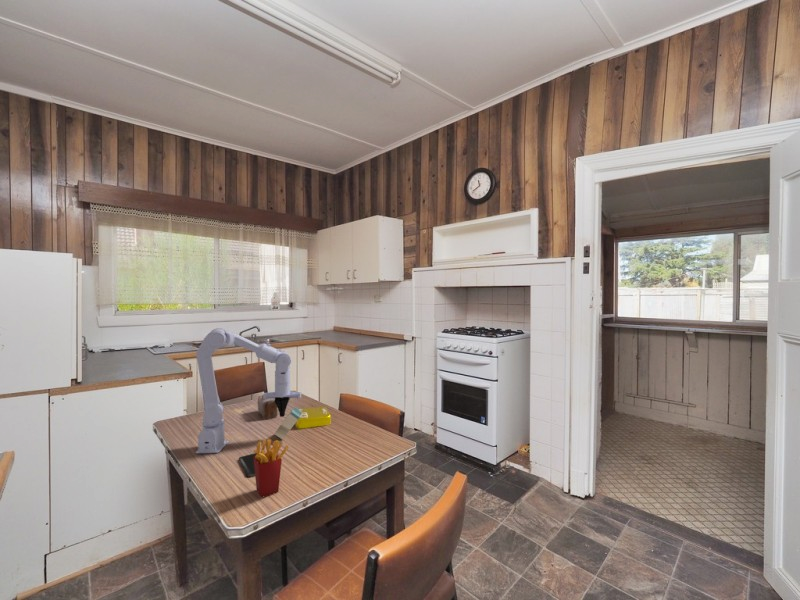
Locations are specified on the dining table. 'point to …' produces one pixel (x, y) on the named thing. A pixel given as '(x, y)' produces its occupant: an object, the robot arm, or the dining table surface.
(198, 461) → the dining table surface
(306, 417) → the yellow flat box
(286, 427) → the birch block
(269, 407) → the food item
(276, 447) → the french fries
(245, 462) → the phone
